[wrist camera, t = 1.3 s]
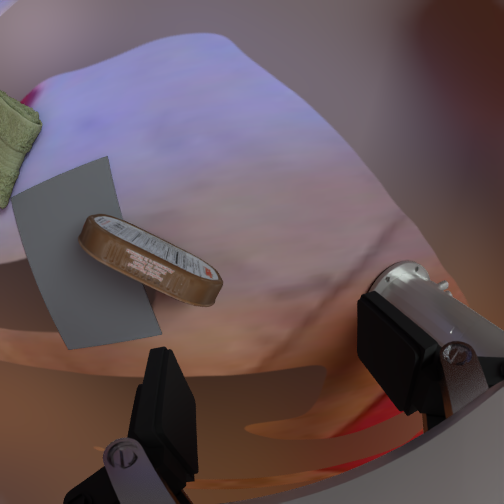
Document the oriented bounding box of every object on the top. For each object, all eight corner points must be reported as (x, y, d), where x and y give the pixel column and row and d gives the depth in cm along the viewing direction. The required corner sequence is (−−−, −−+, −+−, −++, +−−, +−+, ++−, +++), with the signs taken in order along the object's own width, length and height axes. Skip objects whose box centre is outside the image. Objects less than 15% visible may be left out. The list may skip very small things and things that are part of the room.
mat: (107, 156, 26) (106, 156, 26) (162, 333, 33) (161, 334, 33) (11, 197, 25) (10, 198, 24) (69, 348, 32) (68, 349, 31)
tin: (93, 228, 28) (62, 249, 20) (103, 203, 27) (73, 216, 19) (210, 286, 32) (216, 323, 24) (222, 262, 32) (233, 294, 24)
